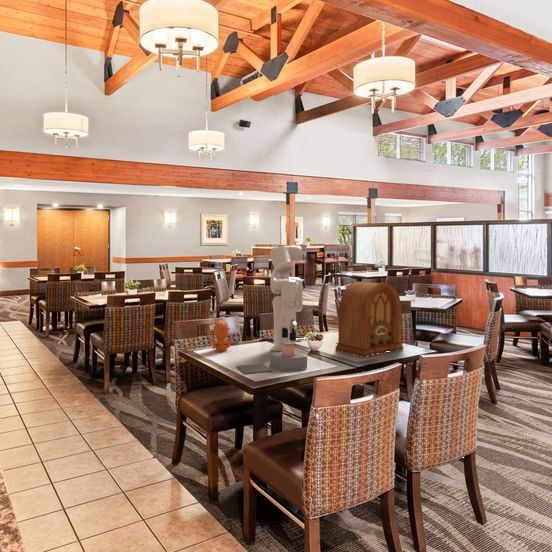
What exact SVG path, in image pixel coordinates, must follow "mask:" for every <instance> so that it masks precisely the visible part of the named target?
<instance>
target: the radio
mask: <svg viewBox="0 0 552 552" xmlns="http://www.w3.org/2000/svg"><path fill="white" fill-rule="evenodd" d="M402 315H403V312H402V303H401V298H400V295H399V292H398V290H397V289H396V288H395V287H394V286H393V285H391V284H390V283H387V282H367V281H366V282H365V281H355V282H351V284H349V285H348V286H347V287H346V288H345V290H344V291H343V292H342V295H341V297H340V302H339V305H338V337H337V338H338V342H336V343H335V344H336V346H335V347H334V349H335V351H336V350H339V351H338V352H340V351H343V352H342V353H344V352H347V353H346V354H348V353H350V354H349V355H352V354H355V355H354V356H356V355H358V356H357V357H360V356H363V357H362V358H364V357H366V358H368V357H367V356H371V355H372V354H376V355H378V354H377V353H384V352H386V351H397V350H402V349H403V350H404V348H405V347H404V346H403V344H404V343H403V342H402V325H403V324H402V323H403V322H402V320H403V319H402V318H403V317H402ZM403 350H402V351H403ZM397 352H398V351H397ZM386 353H387V352H386ZM384 354H385V353H384ZM372 356H373V355H372ZM372 356H371V357H372Z"/></svg>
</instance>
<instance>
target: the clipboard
mask: <svg viewBox="0 0 552 552" xmlns="http://www.w3.org/2000/svg"><path fill="white" fill-rule="evenodd" d="M304 337H305V336H301V335H298V334H296V338H304ZM263 338H264V339H268V340H271V339H272V341H274V336H271V337H268V336H264V337H263ZM301 340H304V339H298V340H295V341H290V342H293V343H302V342H301Z"/></svg>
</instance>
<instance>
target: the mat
mask: <svg viewBox="0 0 552 552" xmlns="http://www.w3.org/2000/svg"><path fill="white" fill-rule="evenodd" d="M236 367H237V368H236V369H237V370H239V371H240V372H241V373H242V372H243V375H251V374H252V375H253V374H261V373H263V374H265V373H271V372H273V369H271V368H270V367H268V366H266V365H265V364H264V363H256V364H247V365H245V364H244V365H236Z"/></svg>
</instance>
